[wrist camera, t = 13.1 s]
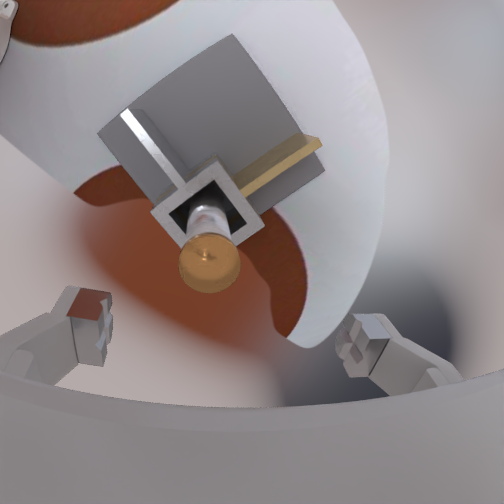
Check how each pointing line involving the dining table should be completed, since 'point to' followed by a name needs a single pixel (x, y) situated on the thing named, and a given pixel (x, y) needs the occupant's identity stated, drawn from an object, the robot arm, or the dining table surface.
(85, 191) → the dining table surface
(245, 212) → the hinge
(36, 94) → the dining table surface
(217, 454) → the robot arm
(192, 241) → the hinge pin
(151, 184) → the base board
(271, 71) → the dining table surface
